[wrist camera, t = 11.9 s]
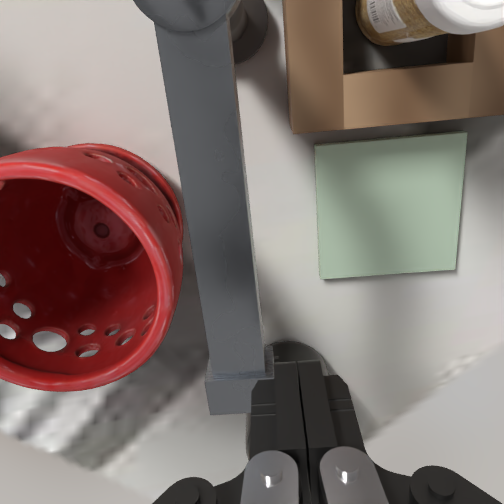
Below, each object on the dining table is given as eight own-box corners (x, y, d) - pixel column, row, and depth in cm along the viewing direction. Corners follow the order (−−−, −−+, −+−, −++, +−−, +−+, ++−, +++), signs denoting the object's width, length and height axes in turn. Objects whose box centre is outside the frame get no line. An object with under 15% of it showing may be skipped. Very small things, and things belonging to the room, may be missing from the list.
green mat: (319, 274, 35) (320, 279, 34) (314, 144, 31) (315, 146, 30) (450, 265, 34) (455, 269, 33) (462, 130, 30) (467, 132, 29)
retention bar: (128, -81, 13) (106, -106, 11) (239, -96, 13) (234, -123, 11) (208, 382, 19) (202, 415, 17) (282, 376, 19) (284, 410, 17)
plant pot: (133, 323, 37) (78, 435, 26) (-8, 221, 33) (-141, 299, 22) (238, 212, 33) (225, 287, 22) (89, 84, 30) (-14, 96, 18)
